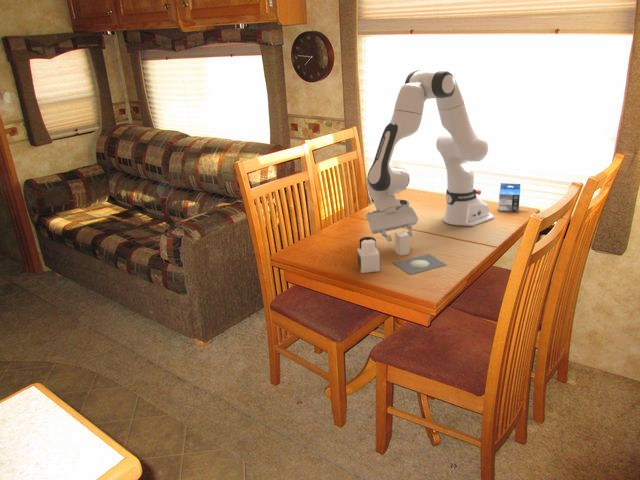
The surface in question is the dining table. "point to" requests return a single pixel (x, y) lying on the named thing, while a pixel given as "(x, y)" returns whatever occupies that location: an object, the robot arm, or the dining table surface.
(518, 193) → the label tape cartridge
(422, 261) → the slate pad
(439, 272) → the dining table surface
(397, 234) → the white block
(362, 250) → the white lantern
